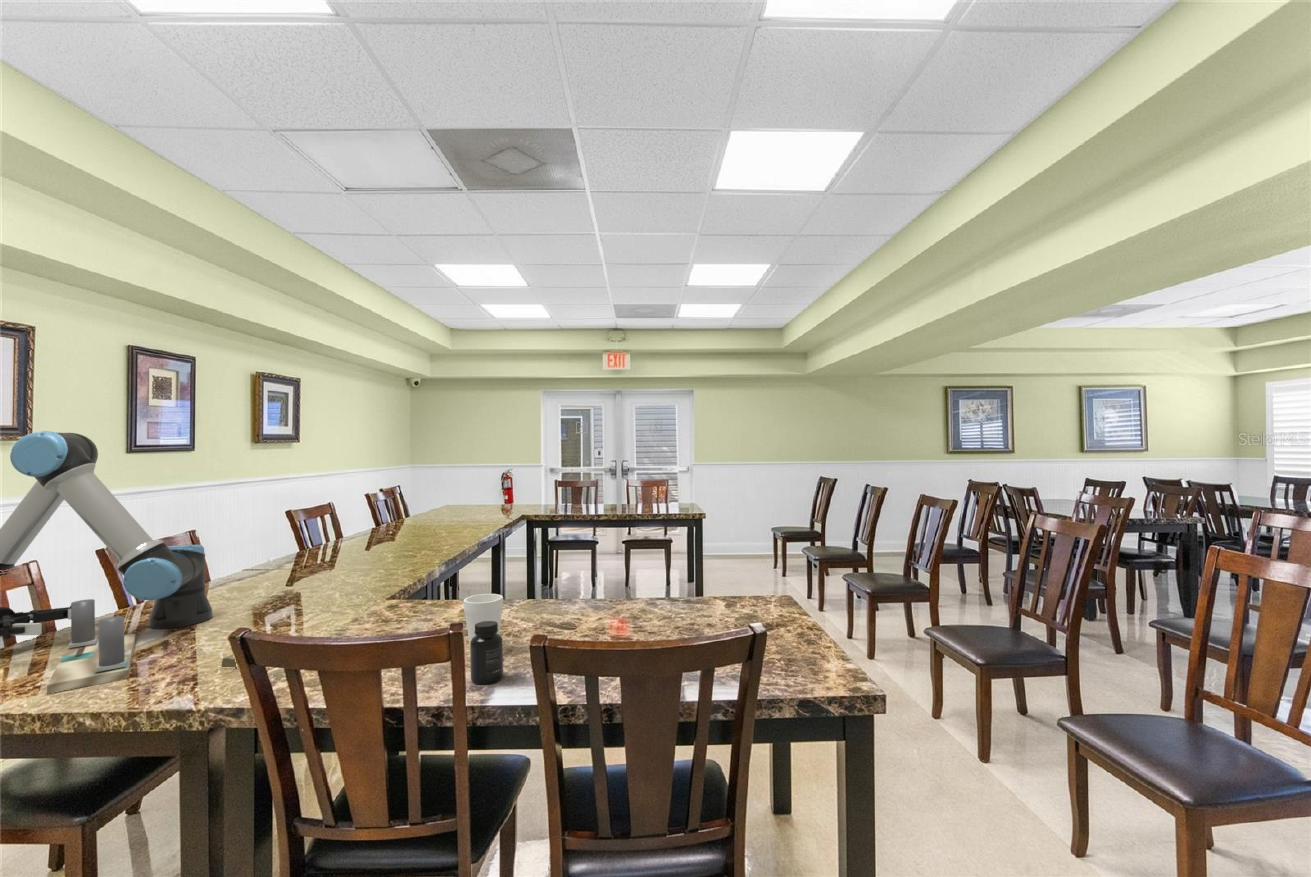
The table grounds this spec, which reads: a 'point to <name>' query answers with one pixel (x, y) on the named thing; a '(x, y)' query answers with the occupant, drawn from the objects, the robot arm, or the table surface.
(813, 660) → the table surface
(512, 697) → the table surface
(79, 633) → the grey upright block
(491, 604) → the foam cup
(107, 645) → the grey tall block
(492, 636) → the supplement bottle
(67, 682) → the switch bank
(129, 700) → the table surface
